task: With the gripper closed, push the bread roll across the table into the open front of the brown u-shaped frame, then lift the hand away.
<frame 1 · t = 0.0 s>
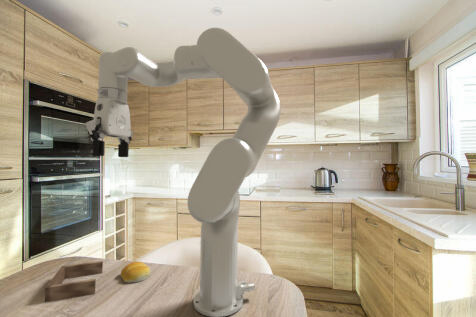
hand: (111, 156, 69), 37 cm above the table, tool pointing down, fingers open, 9 cm apart
bread roll: (135, 277, 75), on the table
brown u-shaped frame: (77, 285, 69), on the table
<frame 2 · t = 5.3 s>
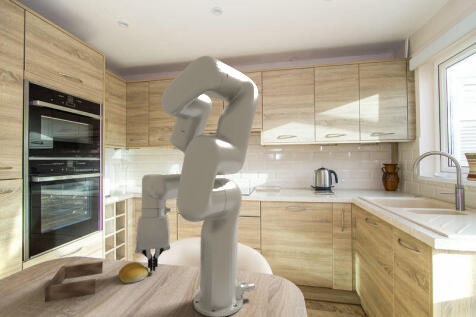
hand: (152, 269, 77), 1 cm above the table, tool pointing down, fingers closed
bread roll: (133, 277, 74), on the table, touching gripper
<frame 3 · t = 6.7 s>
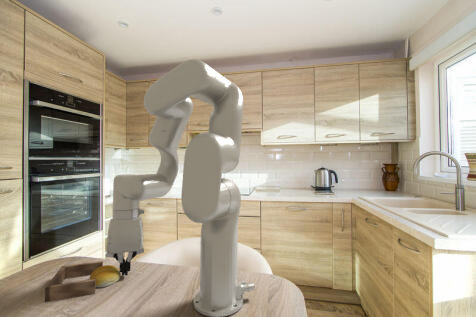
hand: (124, 273, 73), 1 cm above the table, tool pointing down, fingers closed
bread roll: (104, 281, 72), on the table
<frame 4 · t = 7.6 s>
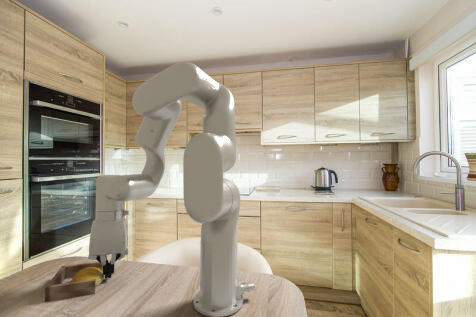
hand: (108, 276, 72), 1 cm above the table, tool pointing down, fingers closed
bread roll: (87, 284, 70), on the table
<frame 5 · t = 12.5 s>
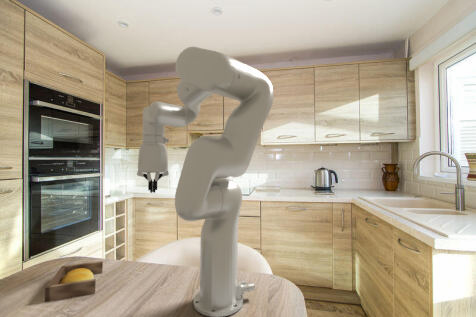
hand: (152, 192, 85), 25 cm above the table, tool pointing down, fingers closed
bread roll: (76, 285, 69), on the table
at the end: bread roll inside the target area (1.2 cm from its centre), on the table; bread roll moved 15.9 cm from its start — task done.
